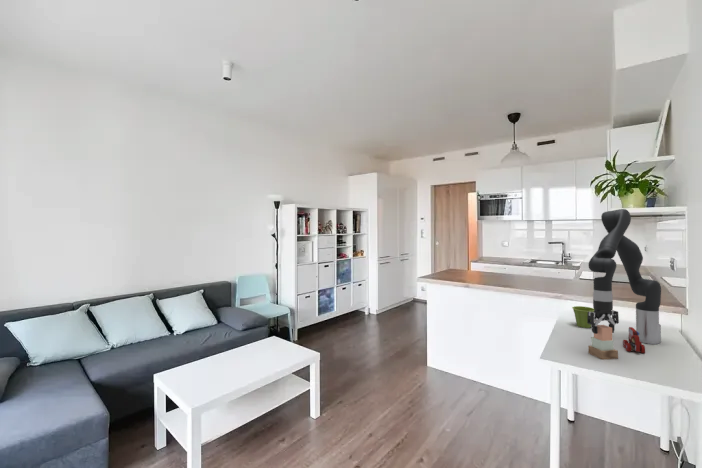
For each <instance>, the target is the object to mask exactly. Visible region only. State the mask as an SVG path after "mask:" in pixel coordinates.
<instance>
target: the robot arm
mask: <svg viewBox="0 0 702 468" xmlns="http://www.w3.org/2000/svg"><path fill="white" fill-rule="evenodd" d="M600 218H601V222H602V225H603V227H604V229H605V230H606V233H607V235H605V236H604V237H603V238H602V240H601V241H600V243H599V245H598V248H597V251H596V252H595V253H594V254H593V255H592V257H591V258H590V259H589V261H588V268H589V269H588V270H590V271H591V272H593V273H602V274H603V273H604V274H605V275H604V276H597V277H594V278H593V292H592V308H594V312H589V311H588V316H587V323H588V324H591V332H592V333H593V334H594V333H595V334H597V333H598V329H597V325H599V324H600V323H601V322H604V321H606V322H607V323H608V327H611V328H612V334H614V332H615V326H616V325H617V324H619V323H620V320H619V318H620V317H619V311H617V310H613V305H614V304H613V303H614V302H613V301H614V300H613V289H612V288H613V284H612V283H613V278H614V275H615V271H616V269H617V262H616V260H615V259H613V258H614V257H615V255H616V253H617V256H618V257H619V259H620V262H621V264H622V265H623V269H624V271H625V273H626V277H627V280H628V281H629V282H628V283H629V286H630V289H631V291H632V292H633V293H634V294H635V295H637V296H640V297H645V300H644V301H639V302H636V303H635V330H636V331H637V332H639V335H638V336H639V339H640V342H641V343H642V344H643V343H644V344H649V345H658V344H660V343H661V342H662V327H661V326H662V325H661V324H660V306H661V300H662V286H661V283H660V282H659V281H658V280H653V279H647V278H643V277H642V274H641V272H640V269H641V266H642V263H643V262H644V261H643V260H644V256H643V253H642V252H641V249H640V247H639V245H638V244H637V243H635V242H634V241H633V240H631V239H630V238H628V237H627V236H625V235H624V234H625V233H626V232H627V229H628V228H629V226H630V224H631V221H632V216H631V213H630V211H629V210H627V209H626V208H621V209H614V210H608V211H604V212H603V213H602V214H601V217H600ZM590 320H591V322H590Z"/></svg>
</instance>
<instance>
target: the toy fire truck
mask: <svg viewBox="0 0 702 468" xmlns="http://www.w3.org/2000/svg"><path fill="white" fill-rule="evenodd" d="M638 335H639V332H637V331H636V328H634V327H632V326H629V327H628V339H623V340H622V346H623V348H625V351H626V352H631V351H635V352H638V353H640V354H645V353H646V346H645V345H644V344H643V342H640V339H639V336H638Z"/></svg>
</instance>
